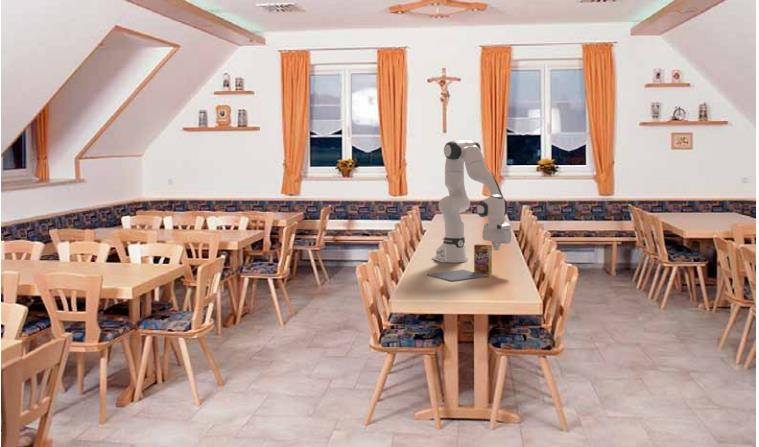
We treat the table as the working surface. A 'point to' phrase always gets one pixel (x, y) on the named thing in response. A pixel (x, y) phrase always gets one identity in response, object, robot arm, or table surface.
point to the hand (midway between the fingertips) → (496, 250)
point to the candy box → (483, 258)
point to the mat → (457, 275)
